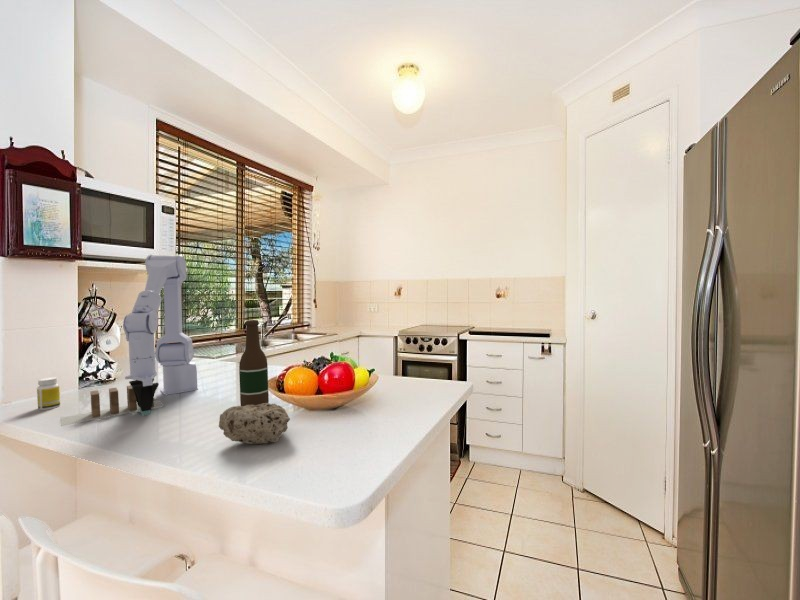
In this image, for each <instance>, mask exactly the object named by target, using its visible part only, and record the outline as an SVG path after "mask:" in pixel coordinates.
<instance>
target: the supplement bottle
mask: <svg viewBox="0 0 800 600" xmlns="http://www.w3.org/2000/svg"><path fill="white" fill-rule="evenodd" d="M37 382H38V383H37V384H38V386H37V387H36V397H37V398H36V399H37V410H39V411H45V410H52V409H56V408H59V407H61V396H60V395H61V391H60V385H59V384H58V378H57V377H55V376H54V377H51V376H50V377H45V378H44V377H43V378H41V379H38V380H37Z"/></svg>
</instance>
